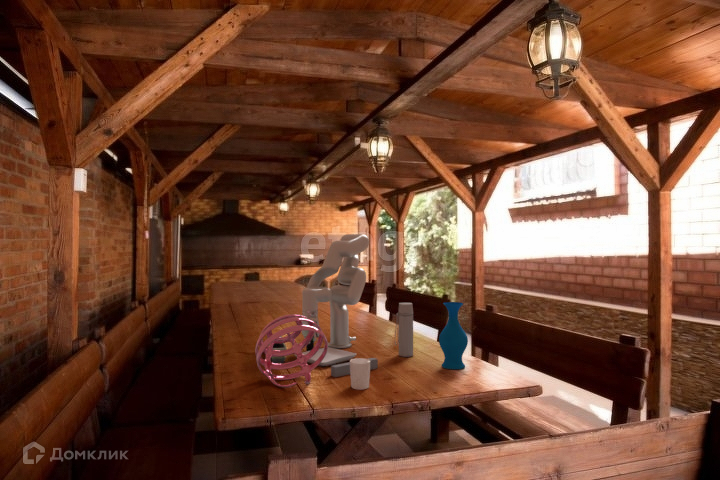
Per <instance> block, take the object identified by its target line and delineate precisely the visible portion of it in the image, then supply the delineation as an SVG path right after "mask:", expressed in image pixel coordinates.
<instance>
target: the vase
mask: <svg viewBox="0 0 720 480" xmlns="http://www.w3.org/2000/svg"><path fill="white" fill-rule="evenodd" d="M443 305H444V306H445V308H446V309H447V312H448V318H447V323H446V325H445V326H444V327H443V329H442V330H441V332H440V333H439V335H438V336H439V337H438V344H439V346H440V348H441V351H442V352H443V356H444V360H443V362H442V364H441V367H442V368H444V369H447V370H453V371H454V370H455V371H456V370H463V369H465V368H466V365H465V363H464V362H463V355H464V353H465V351H466V349H467V346H468V342H469V339H468V335H467V333H466V331H465V330H464V329H463V327H462V325H461V324H460V322H459V321H460V320H459V316H458V315H459V310H460V308H461V307H462V306H464V302H459V301H457V302H456V301H447V302H443Z"/></svg>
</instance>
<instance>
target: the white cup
mask: <svg viewBox="0 0 720 480" xmlns="http://www.w3.org/2000/svg"><path fill="white" fill-rule="evenodd" d="M349 362H350V374H349V375H350V376H349V377H350V385H351V386H350V387H351V388H352V389H354V390H357V391H359V390H360V391H361V390H362V391H363V390H366V389H369V388H370V378H371V377H370V375H371V370H370V360H369V358H365V357H364V358H363V357H360V358H359V357H357V358H355V357H354V358H352V359H349Z"/></svg>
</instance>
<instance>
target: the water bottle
mask: <svg viewBox="0 0 720 480" xmlns="http://www.w3.org/2000/svg"><path fill="white" fill-rule="evenodd" d="M413 307H414V306H413V303H412V302H398V309H397V310H398V312H397V313H395V314H396V322H395V327H396V330H395V332H394V337H397V336H396V335H397V330H398V342H397V343H396V341H394V344H395V346H397V345H398V356H399V357H403V358H410V357H413V356H414V308H413Z"/></svg>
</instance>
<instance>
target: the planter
mask: <svg viewBox="0 0 720 480" xmlns="http://www.w3.org/2000/svg"><path fill="white" fill-rule="evenodd" d="M281 337H283V336H281ZM269 345H270V344H269ZM269 345H268V346H269ZM286 349H288V347H287V346H286V343H280V344H279V343H275V344H274V345H273V350H286ZM270 359H271V362H272V363H276V364H281V363H286V362H285V361H286V356H283V357H274V356H272V357H271V358H270Z"/></svg>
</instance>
